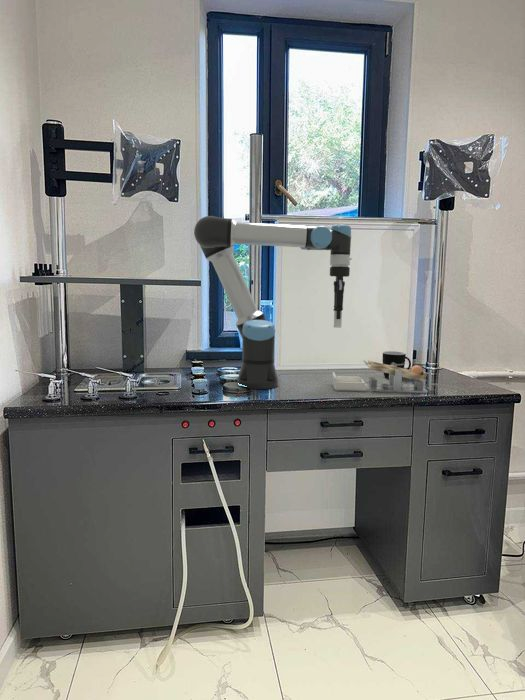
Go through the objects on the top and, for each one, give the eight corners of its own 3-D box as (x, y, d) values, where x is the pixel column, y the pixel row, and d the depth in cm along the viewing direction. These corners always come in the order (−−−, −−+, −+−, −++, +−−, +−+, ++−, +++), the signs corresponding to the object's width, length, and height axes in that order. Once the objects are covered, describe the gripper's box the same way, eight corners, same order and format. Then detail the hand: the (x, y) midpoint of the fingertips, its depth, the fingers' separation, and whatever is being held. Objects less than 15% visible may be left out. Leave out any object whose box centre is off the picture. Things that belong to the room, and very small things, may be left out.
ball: (411, 376, 183) (414, 365, 182) (408, 373, 187) (411, 363, 186) (422, 378, 183) (425, 367, 182) (419, 376, 187) (422, 365, 186)
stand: (368, 391, 181) (369, 369, 180) (363, 384, 192) (364, 364, 191) (427, 393, 180) (429, 371, 179) (419, 386, 191) (421, 365, 190)
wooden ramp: (369, 371, 182) (372, 360, 181) (362, 363, 197) (365, 353, 197) (424, 384, 181) (427, 373, 181) (413, 375, 197) (416, 365, 196)
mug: (387, 380, 201) (388, 354, 199) (377, 375, 210) (379, 351, 208) (415, 379, 203) (416, 354, 202) (404, 374, 212) (406, 350, 210)
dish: (334, 390, 181) (335, 378, 181) (332, 383, 192) (332, 372, 192) (366, 391, 181) (367, 378, 180) (362, 384, 192) (362, 372, 191)
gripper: (352, 266, 189) (349, 329, 192) (347, 266, 203) (345, 325, 206) (331, 265, 189) (329, 328, 193) (328, 266, 203) (326, 325, 207)
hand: (337, 327), depth 199 cm, fingers closed
